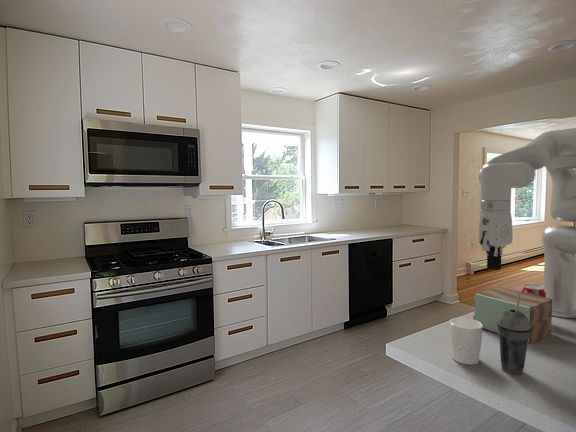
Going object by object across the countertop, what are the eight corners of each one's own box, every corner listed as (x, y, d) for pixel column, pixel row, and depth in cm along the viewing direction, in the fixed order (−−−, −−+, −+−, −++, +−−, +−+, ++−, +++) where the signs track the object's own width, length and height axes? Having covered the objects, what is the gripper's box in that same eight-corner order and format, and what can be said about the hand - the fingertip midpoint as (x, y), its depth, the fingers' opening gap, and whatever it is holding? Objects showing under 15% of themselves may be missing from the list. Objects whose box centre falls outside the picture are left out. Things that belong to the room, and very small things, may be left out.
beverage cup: (488, 364, 92) (491, 289, 90) (515, 362, 92) (518, 288, 91) (508, 379, 85) (511, 298, 83) (537, 377, 85) (540, 297, 83)
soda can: (549, 325, 115) (550, 290, 114) (525, 324, 117) (526, 289, 116) (538, 318, 122) (540, 284, 121) (516, 316, 124) (517, 283, 123)
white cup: (478, 354, 97) (479, 319, 97) (484, 368, 90) (485, 330, 89) (447, 350, 100) (448, 316, 99) (450, 363, 92) (451, 326, 92)
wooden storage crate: (498, 317, 123) (499, 286, 122) (550, 333, 110) (552, 299, 109) (476, 325, 117) (477, 293, 116) (530, 343, 103) (531, 307, 102)
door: (474, 323, 117) (475, 293, 116) (529, 341, 103) (530, 307, 102) (470, 324, 116) (471, 294, 115) (525, 343, 102) (526, 308, 101)
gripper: (494, 208, 94) (492, 275, 96) (522, 205, 102) (520, 267, 104) (467, 207, 101) (466, 270, 103) (496, 204, 108) (494, 262, 110)
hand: (493, 268), depth 103 cm, fingers closed
